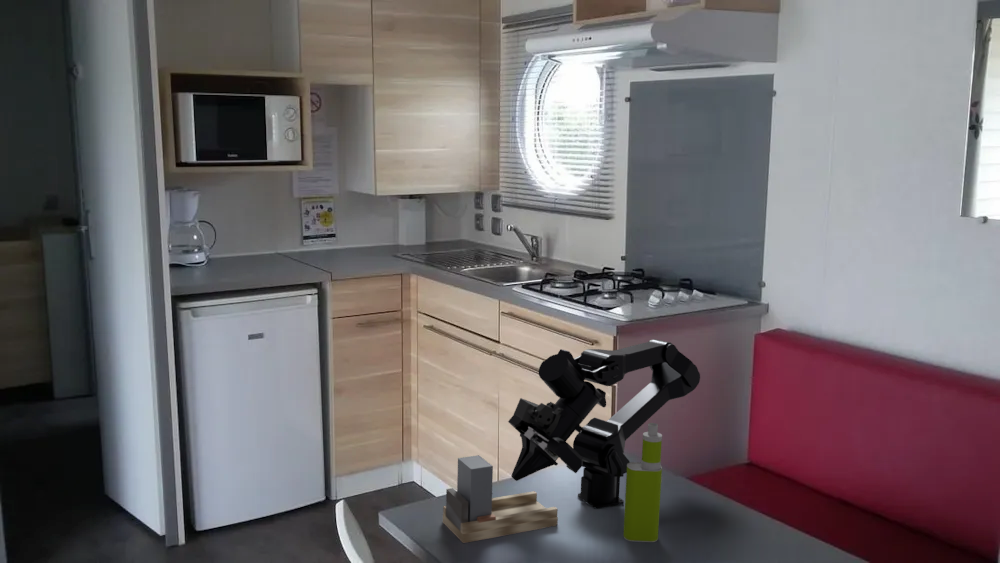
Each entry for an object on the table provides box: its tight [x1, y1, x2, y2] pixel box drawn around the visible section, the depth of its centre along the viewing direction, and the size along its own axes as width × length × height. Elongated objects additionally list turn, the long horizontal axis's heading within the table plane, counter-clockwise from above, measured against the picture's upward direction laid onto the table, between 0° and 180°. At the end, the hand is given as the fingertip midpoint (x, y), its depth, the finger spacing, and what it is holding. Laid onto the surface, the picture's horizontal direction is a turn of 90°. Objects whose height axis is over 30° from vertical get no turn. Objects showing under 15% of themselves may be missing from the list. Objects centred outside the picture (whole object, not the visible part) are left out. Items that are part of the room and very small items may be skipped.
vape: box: [623, 422, 663, 543], centre depth 149 cm, size 4×6×20 cm, turn 88°
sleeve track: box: [442, 487, 559, 544], centre depth 153 cm, size 18×9×6 cm, turn 116°
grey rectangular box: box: [456, 454, 494, 522], centre depth 151 cm, size 4×6×10 cm
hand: (513, 478), depth 154 cm, fingers closed
